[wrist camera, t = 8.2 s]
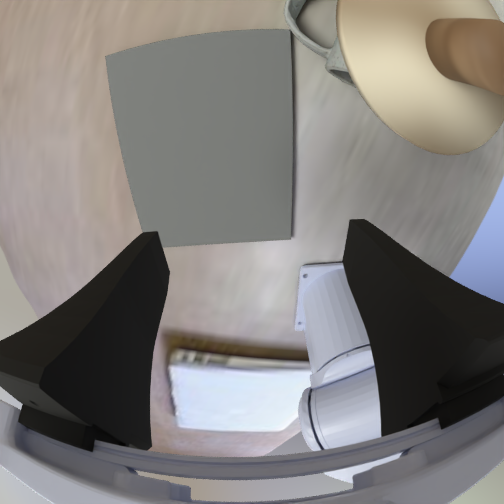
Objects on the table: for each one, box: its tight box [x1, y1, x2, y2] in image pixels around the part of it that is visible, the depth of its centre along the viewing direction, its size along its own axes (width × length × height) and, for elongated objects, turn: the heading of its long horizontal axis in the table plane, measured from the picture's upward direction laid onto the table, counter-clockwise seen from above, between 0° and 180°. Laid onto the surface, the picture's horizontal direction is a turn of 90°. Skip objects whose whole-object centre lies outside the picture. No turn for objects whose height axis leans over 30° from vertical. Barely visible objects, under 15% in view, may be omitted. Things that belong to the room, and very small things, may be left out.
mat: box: [105, 29, 293, 247], centre depth 18 cm, size 16×12×1 cm
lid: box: [336, 0, 504, 155], centre depth 6 cm, size 10×10×4 cm
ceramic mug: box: [284, 0, 356, 88], centre depth 10 cm, size 11×8×8 cm
